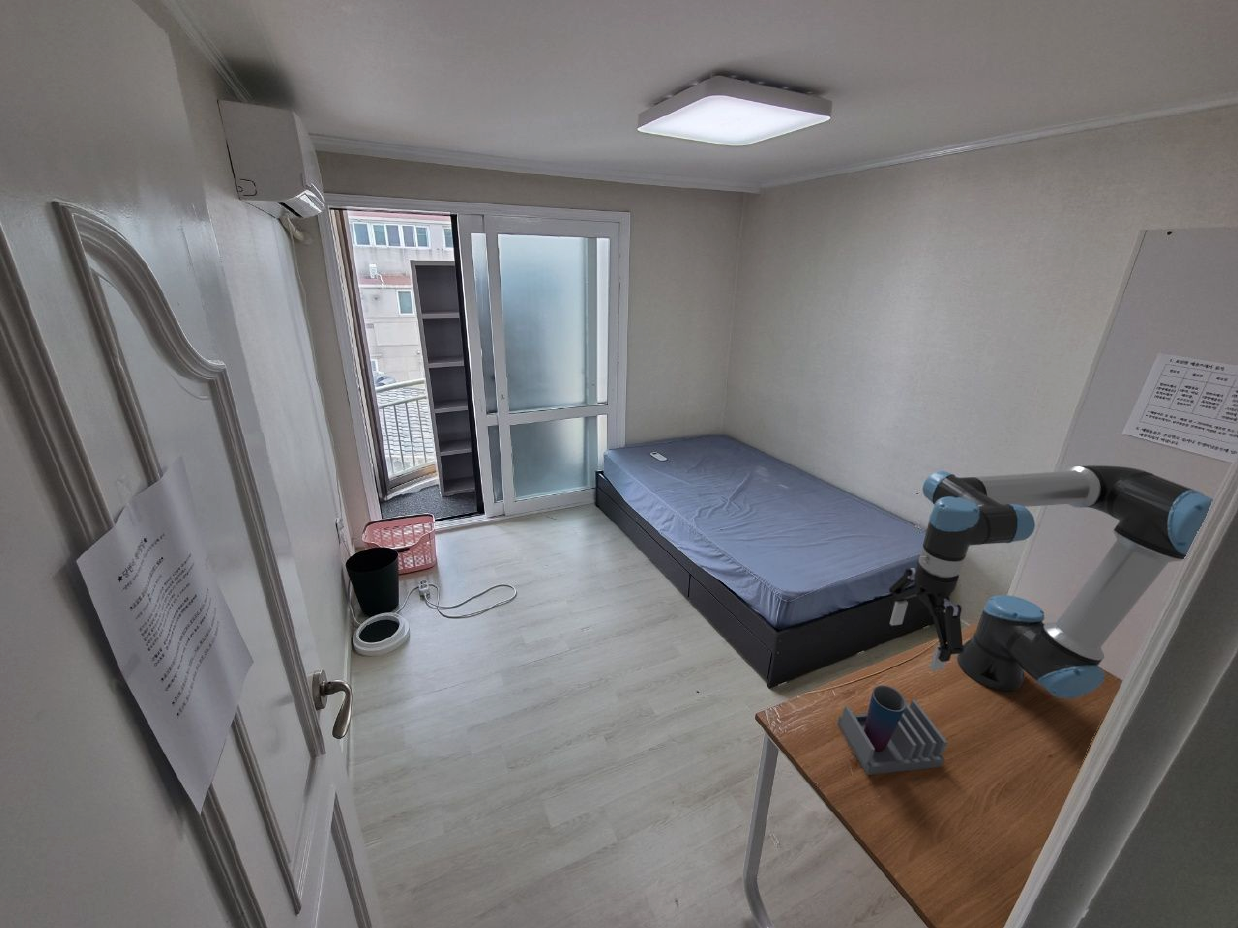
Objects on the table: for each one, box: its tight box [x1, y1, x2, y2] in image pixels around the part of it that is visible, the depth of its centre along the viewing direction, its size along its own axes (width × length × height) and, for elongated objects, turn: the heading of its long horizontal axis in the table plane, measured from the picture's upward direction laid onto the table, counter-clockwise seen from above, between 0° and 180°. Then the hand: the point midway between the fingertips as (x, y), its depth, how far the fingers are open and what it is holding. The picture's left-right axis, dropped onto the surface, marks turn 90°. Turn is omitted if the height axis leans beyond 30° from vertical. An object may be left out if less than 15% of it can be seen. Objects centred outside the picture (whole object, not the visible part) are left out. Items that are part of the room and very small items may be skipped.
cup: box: [864, 684, 908, 752], centre depth 114 cm, size 7×7×15 cm
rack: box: [837, 699, 948, 776], centre depth 116 cm, size 18×13×7 cm
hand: (914, 645), depth 112 cm, fingers open, 13 cm apart
